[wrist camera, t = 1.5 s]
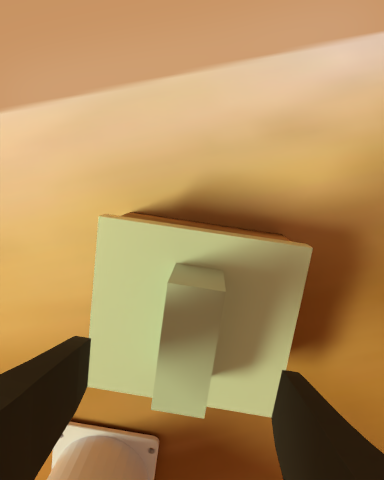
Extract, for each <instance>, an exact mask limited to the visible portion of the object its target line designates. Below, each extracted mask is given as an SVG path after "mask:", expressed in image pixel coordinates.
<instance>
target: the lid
mask: <svg viewBox="0 0 384 480" xmlns="http://www.w3.org/2000/svg"><path fill="white" fill-rule="evenodd" d="M312 250H313V248H312V247H311V246H309V245H308V244H305V243H298V242H292V241H285V240H278V239H271V238H265V237H258V236H251V235H244V234H238V233H231V232H224V231H217V230H211V229H204V228H197V227H190V226H184V225H177V224H170V223H163V222H157V221H150V220H143V219H136V218H130V217H123V216H116V215H109V214H104V215H101V216H99V219H98V231H97V243H96V256H95V268H94V280H93V293H92V305H91V317H90V330H89V338H91V347H90V360H89V373H88V386H87V387H92V388H98V389H104V390H110V391H116V392H122V393H128V394H134V395H140V396H146V397H152V405H151V410H156V411H162V412H168V413H174V414H180V415H186V416H192V417H197V418H203V419H204V417H205V411H206V407H212V408H218V409H224V410H230V411H236V412H242V413H247V414H253V415H259V416H265V417H271V418H272V413H273V408H274V404H275V400H276V395H277V391H278V386H279V382H280V377H281V373H282V370H286V367H287V363H288V358H289V354H290V349H291V345H292V340H293V336H294V331H295V327H296V322H297V318H298V313H299V309H300V304H301V300H302V295H303V291H304V286H305V282H306V277H307V273H308V268H309V264H310V259H311V255H312Z"/></svg>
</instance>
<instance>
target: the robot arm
mask: <svg viewBox="0 0 384 480" xmlns="http://www.w3.org/2000/svg"><path fill="white" fill-rule="evenodd" d="M90 347H91V338H85V337H79V336H74V337H72V338H70V339H68V340H66V341H64V342H62V343H61V344H59V345H57V346H55V347H53V348H52V349H50V350H48V351H46V352H44V353H42V354H40V355H39V356H37V357H35V358H33V359H31V360H29V361H27V362H25V363H23V364H21V365H19V366H17V367H15V368H13V369H11V370H8V371H6V372H4V373H2V374H0V480H34V479H35V478H36V476H37V474H38V472H39V471H40V469H41V467H42V466H43V464H44V463H45V461H46V459H47V458H48V456H49V454H50V453H51V451H52V450H53V456H52V471H51V473H50V475H49V476H48V478H47V480H154V477H155V470H156V463H157V456H158V448H159V439H158V438H157V437H155V436H152V435H146V434H140V433H134V432H128V431H122V430H117V429H111V428H105V427H99V426H93V425H87V424H81V423H76V422H70V420H71V419H72V417H73V415H74V414H75V412H76V410H77V408H78V406H79V404H80V402H81V399H82V397H83V395H84V393H85V391H86V388H87V386H88V373H89V360H90ZM272 425H273V434H274V441H275V447H276V451H277V455H278V459H279V463H280V467H281V471H282V475H283V479H284V480H384V454H383V453H382V452H381V451H380V450H378V449H377V448H376V447H375V446H374V445H372V444H371V443H370V442H369V441H368V440H367V439H365V438H364V437H363V436H362V435H361V434H360V433H359V432H358V431H357V430H356V429H355V428H353V427H352V426H351V425H350V424H349V423H348V422H347V421H346V420H345V419H344V418H343V417H342V416H341V415H340V414H339V413H338V412H337V411H336V410H335V409H334V408H333V407H332V406H331V405H330V404H329V403H328V402H327V401H326V400H325V399H324V398H323V397H322V396H321V395H320V394H319V393H318V391H317V390H316V389H315V388H314V387H313V386H312V385H311V384H310V383H309V382H308V381H307V380H306V379H305V378H304V377H303V376H302V375H301V374H300V373H298V372H292V371H286V370H282V373H281V377H280V382H279V386H278V391H277V395H276V400H275V404H274V408H273V413H272ZM150 448H153V449H150Z"/></svg>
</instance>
